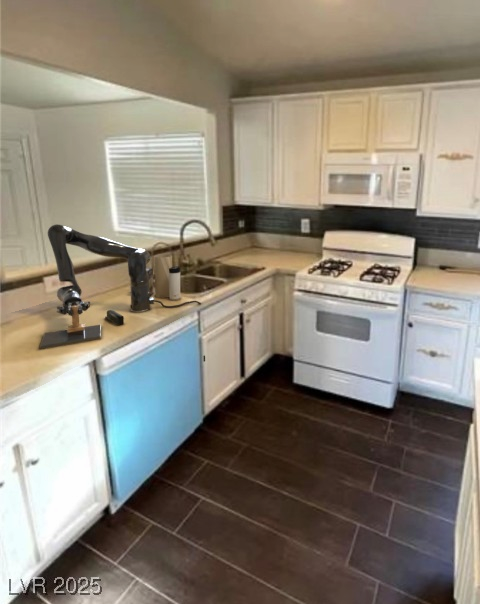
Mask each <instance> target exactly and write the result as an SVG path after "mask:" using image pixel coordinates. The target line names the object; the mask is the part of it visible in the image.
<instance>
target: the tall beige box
mask: <svg viewBox="0 0 480 604" xmlns="http://www.w3.org/2000/svg"><path fill="white" fill-rule="evenodd" d="M153 257H154V288H155V289H154V292H155V293H154V294H155V295H154V296H155V298H159V299H164V298H169V297H170V296H169V268H171V267H173V255H172V254H170V253H158V254H156V255H154V256H153Z"/></svg>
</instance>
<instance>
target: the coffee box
mask: <svg viewBox="0 0 480 604" xmlns="http://www.w3.org/2000/svg"><path fill="white" fill-rule="evenodd" d="M153 269H154V268H153V267H146V272H147V273H148V274H149V293H150V296H151V295H152V294H153V293H154V271H153Z"/></svg>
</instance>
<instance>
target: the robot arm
mask: <svg viewBox="0 0 480 604" xmlns="http://www.w3.org/2000/svg"><path fill="white" fill-rule="evenodd" d="M47 238H48V241H49V244H50V246H51V249H52V252H53V255H54V259H55V264H56V269H57V275H58V280H59V282H60V283H70V285H66V286H61V287H59V288H58V289H57V291H56V297H57V299H58V300H59V301H60V302H62V306H59V305H58V306H56V313H58V314H61V315H63V316H64V315H68V316H70V317H72V316H73V315H72V309H71V307H72V306H74V305H78V311H79V316H80V315H82V314H83V312H87V310H89V309H90V308H91V301H86V302H84V301H83V300H82V297H81V296H82V293H83V291H82V288H81V286H80V284H79V283H78V280H77V277H76V274H75V269H74V264H73V261H72V258H71V257H70V254H69V251H68V249H67V245H71V246H76V247H79V248H81V249H83V250H85V251H87V252H90V254H91V253H92V254H94V255H98V256H102V257H106V258H118V259H124V260H127V271H128V276H129V282H130V284H129V286H130V287H129V289H130V311H131V312H132V313H143V312H147V311H150V310H151V305H155V303H157V304H160V305H161V307H163V308H167V309H173V308H179V307H182V306H184V305H189V304H192V303H197V304H198V305H201V304H202V303H201V302H200V301H199V300H190V301H185V302H182V303H180V304H175V305H165V304H164V303H163V302H162V301H160V300H156V299H154V297H151V295H150V293H149V274H148V273H147V272H146V268H147V264H149V263H150V261H151V258H152V257H151V254H150V252H148V251H147V250H146V249H143V248H139V247H133V246H129V245H125V244H122V243H120V242H116V241H113V240H111V239H108V238H105V237H101V236H97V235H93V234H92V235H91V234H87V233H83V232H81V231H77V230H75V229H73V228H71V227H68V226H66V225H63V224H56V223H55V224H53V225H51V226H50V227H48V230H47ZM203 362H206V355H203Z"/></svg>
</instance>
